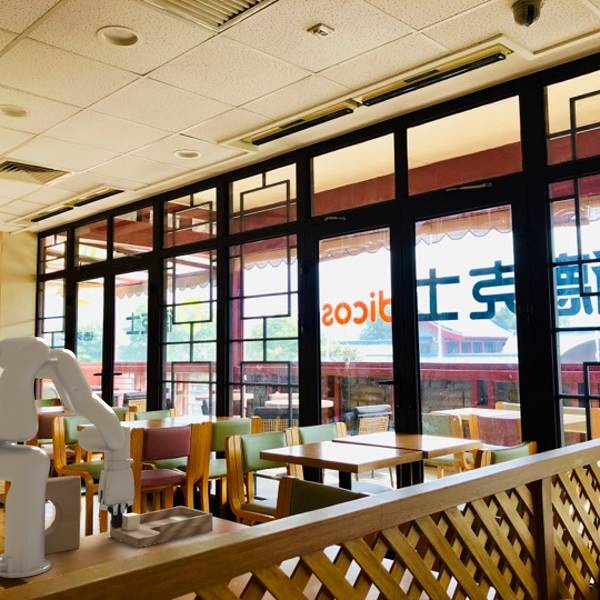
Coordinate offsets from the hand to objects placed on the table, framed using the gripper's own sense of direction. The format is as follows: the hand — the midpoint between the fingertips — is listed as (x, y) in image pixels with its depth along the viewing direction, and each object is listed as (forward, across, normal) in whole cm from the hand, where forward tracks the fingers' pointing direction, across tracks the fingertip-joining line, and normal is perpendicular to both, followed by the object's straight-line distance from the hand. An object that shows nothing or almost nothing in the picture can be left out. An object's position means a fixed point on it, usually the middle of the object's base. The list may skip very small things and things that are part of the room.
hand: (116, 527), depth 195 cm
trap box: (+4, -13, +4) cm, 14 cm away
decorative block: (+4, +17, -3) cm, 18 cm away
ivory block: (+1, -5, 0) cm, 5 cm away
